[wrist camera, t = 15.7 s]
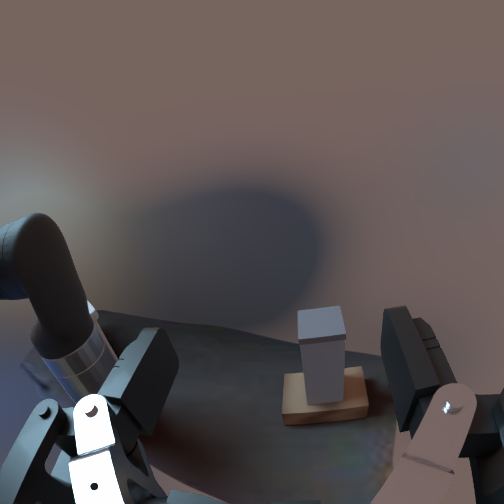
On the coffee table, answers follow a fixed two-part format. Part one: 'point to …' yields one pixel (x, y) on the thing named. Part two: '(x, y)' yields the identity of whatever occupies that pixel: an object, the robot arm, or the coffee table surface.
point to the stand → (347, 409)
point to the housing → (322, 353)
